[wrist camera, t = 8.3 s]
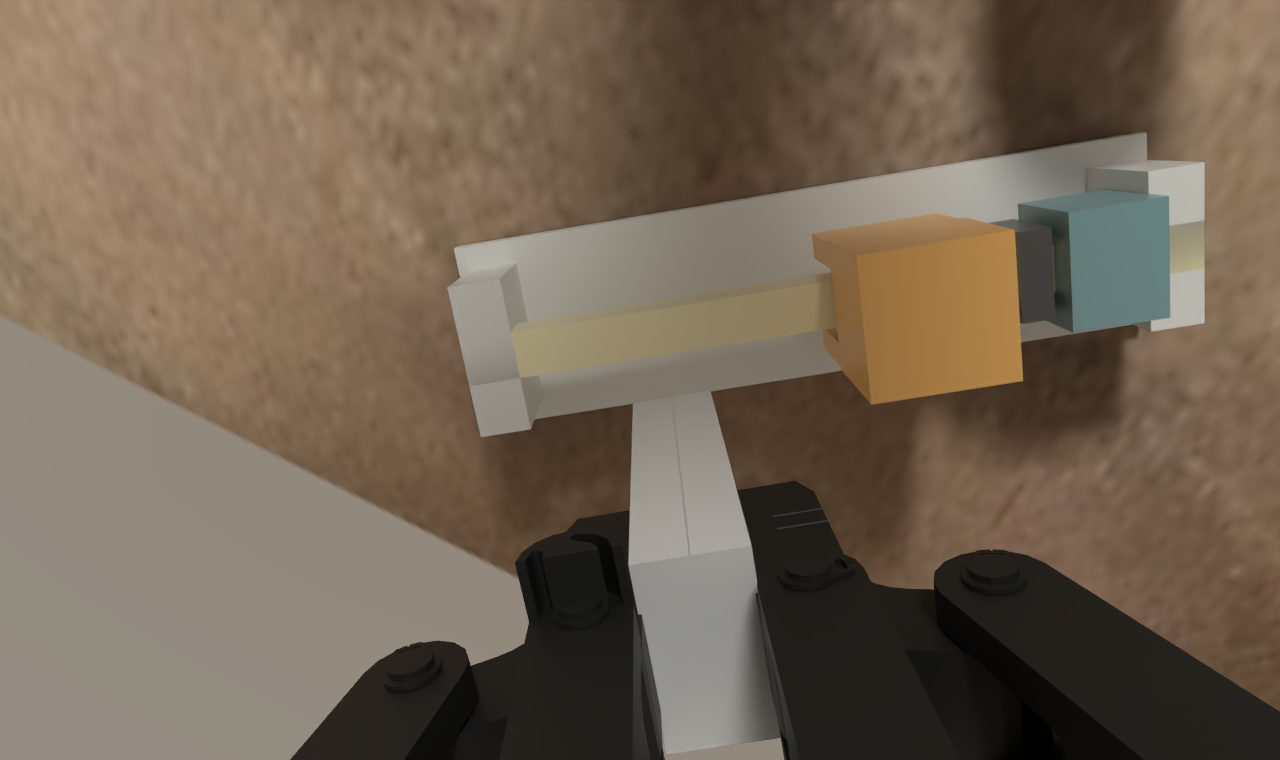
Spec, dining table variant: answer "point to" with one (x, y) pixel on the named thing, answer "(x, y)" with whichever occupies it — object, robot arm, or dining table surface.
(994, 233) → the orange slider block
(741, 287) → the linear slide rail
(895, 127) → the dining table surface
